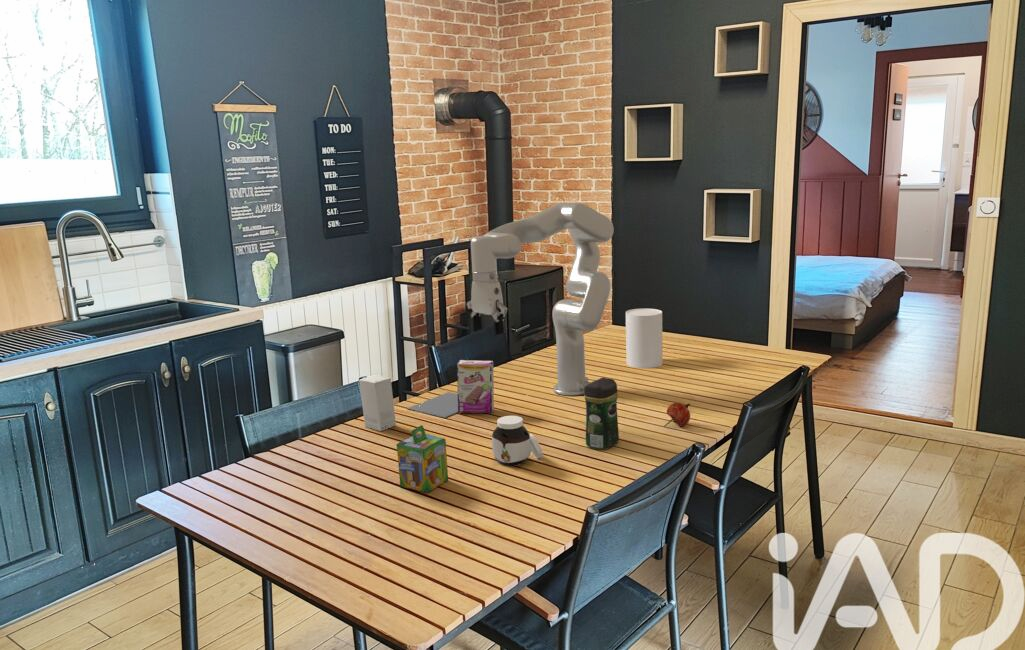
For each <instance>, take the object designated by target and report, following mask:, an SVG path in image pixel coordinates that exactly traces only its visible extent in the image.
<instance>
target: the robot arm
mask: <svg viewBox="0 0 1025 650" xmlns="http://www.w3.org/2000/svg"><path fill="white" fill-rule="evenodd" d="M614 229H615V228H614V225H613V222H612V221H611V219H610V218H609V217H607V216H605V215H604V214H602V213H600V212H599V211H597V210H596V209H594V208H592V207H590V206H588V205H586V204H584V203H581V202H559V203H556V204H554V205H551V206H549V207H548V208H546V209H543V210H541V211H540V212H537V213H535V214H533V215H531V216H528V217H525V218H521V219H519V220H515V221H512V222H508V223H505V224H503V225H499V226H498V227H495V228H494V229H491V230H490V231H488V232H487V233H485V234H484V235H479V236H474V237H472V238H471V240H470V252H471V253H470V254H471V255H470V257H471V269H472V270H471V272H472V273H471V274H472V282H471V292H470V293H471V295H470V296H471V297H470V298H471V299H470V300H469V301H467V302H466V307H467V309H468V312H469V314H470V318H471V319H472V330H473V331H479V330H482V328H483V327H482V323H483V322H482V316H481V315H487V316H492V318H493V320H494V321H493V334H494V335H496V336H498V335H501V334H504V323H503V322H504V321H505V318H506V317H507V313H508V307H507V306H506V305H504V300H503V298H504V297H503V292H502V287H501V283H500V281H499V280H498V279H499V275H498V267H497V266H498V265H497V264H498V263H497V260H498V259H512V258H515V257H518V255H519V254H521V253H520V252H521V250H522V247H523V246H522V245H523V244H533V243H538V242H542V241H545V240H546V239H548V238H550V237H552V236H555V235H556V234H558V233H560V232H562V231H565V230H568V232H569V236H570V237H571V239H572V241H573V243H574V244H573V245H574V247H575V256H574V259H573V261H572V266H571V267H570V268H571V269H570V271H569V273H568V277H567V280H566V285H565V288H566V291H567V293H568V294H569V295H571V296H572V297H576V298H579V299H580V298H581V299H583V301H581V300H576V299H569V298H566V299H561V300H558V301H557V302H556V303H555V305H553V308H552V311H551V312H552V322H553V325H554V331H555V339H556V340H555V341H556V345H555V347H556V367H557V369H556V371H557V376H556V377H557V384H555V385H553V388H552V389H553V392H554V393H555V394H558V395H562V396H581V395H584V387H585V385H587V384H589V383H591V382H592V381H591V382H589V377H586V352H585V350H586V349H585V347H586V346H585V343H586V342H585V336H584V333H583V332H587V333H589V332H593V331H594V330H596V329H597V328H598V326H599V325H600V322H601V320H602V318H603V315H604V312H605V309H606V305H607V303H608V299H609V297H610V292H611V282H610V279H609V277H608V275H607V274H606V273H605V272H601V271H598V268H599V264H600V261H601V252H600V249H599V247H598V246H599V245H598V244H599V243H600V244H601V243H606V242H608V241H610V240H611V238H612V237H613V235H614Z"/></svg>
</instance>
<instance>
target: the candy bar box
mask: <svg viewBox="0 0 1025 650" xmlns="http://www.w3.org/2000/svg"><path fill="white" fill-rule="evenodd" d="M456 372H457V373H456V374H457V375H456V376H457V378H456V379H457V380H456V381H457V384H456V385H457V394H458V413H457V414H459V413H461V414H462V413H464V414H465V413H466V414H468V413H469V414H492V413H493V411H494V409H495V400H494V398H495V397H494V394H495V391H494V390H495V389H494V361H493V360H475V359H474V360H471V359H470V360H469V359H468V360H467V359H460V360H458V362H457V364H456Z"/></svg>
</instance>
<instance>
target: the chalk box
mask: <svg viewBox="0 0 1025 650" xmlns="http://www.w3.org/2000/svg"><path fill="white" fill-rule="evenodd" d="M419 432H420V433H419ZM446 441H447V440H446V438H443V437H440V436H439V437H438V436H435V435H431V434H426V431H425V427H424V425H422V424H421V425H420V426H417V427H416V428H413V429H412V430H411V436H410V437H408V438H404V439H403V440H401V441H400V442H398V443H396V452H397V454H396V455H397V463H398V466H397V467H398V474H399V487H400V488H404V489H410V490H414V491H418V492H422V493H423V492H424V493H426V494H428V493H430V492H431V491H433V490H434V489H436V488H438V487H440V486H441V485H443V484H444V483H446V482H448V481H449V474H448V473H449V471H448V456H447V443H446Z"/></svg>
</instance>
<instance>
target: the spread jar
mask: <svg viewBox="0 0 1025 650" xmlns="http://www.w3.org/2000/svg"><path fill="white" fill-rule="evenodd" d="M496 422H497V425H496V426H497V427H496V428H494V430H493V431H492V434H491V445H492V447H491V448H492V454H493V457H494V459H495V460H496V461H497V462H498V463H499V464H500V465H501V466H502V465H503V466H505V467H514V466H515V467H517V466H521V465H522V464H524V463H525V462H526V461H527V460H528V459H530V456H531V453H532V454H533V456H534V457H535V458H536V459H538V460H539V459H540V458H542V457H544V452H543V449H542V447H541V445H540V443H539V441H538V440H537V438H536V437H535V435H534V434H532V433H529V431H528V429H527V428H526V427H525V426H524V419H523V417H521V416H519V415H506V416H505V415H504V416H501V417H499V418H497V420H496Z"/></svg>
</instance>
